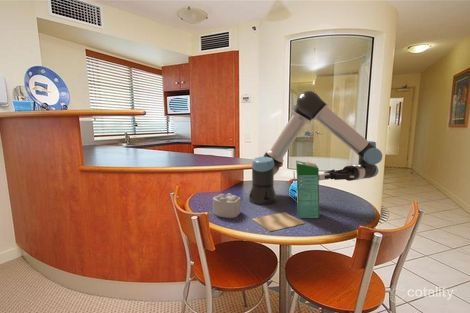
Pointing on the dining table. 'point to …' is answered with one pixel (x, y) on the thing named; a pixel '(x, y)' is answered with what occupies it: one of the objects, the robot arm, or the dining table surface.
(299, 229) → the dining table surface
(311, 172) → the milk carton
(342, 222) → the dining table surface
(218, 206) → the lumpy-topped squat cylinder
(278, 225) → the wooden mat
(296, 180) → the cupcake
